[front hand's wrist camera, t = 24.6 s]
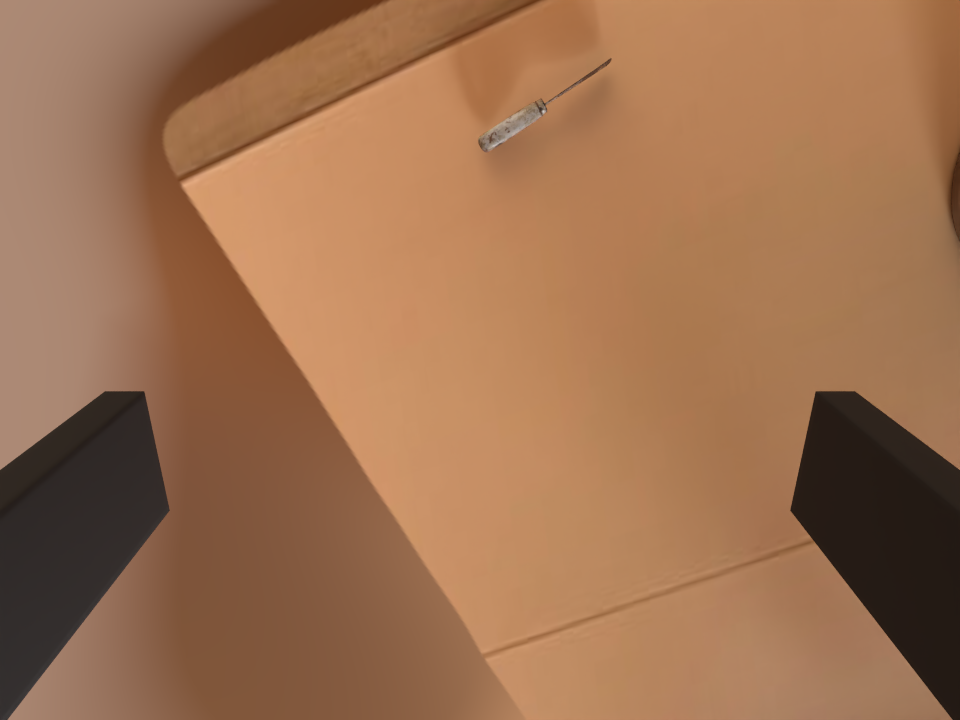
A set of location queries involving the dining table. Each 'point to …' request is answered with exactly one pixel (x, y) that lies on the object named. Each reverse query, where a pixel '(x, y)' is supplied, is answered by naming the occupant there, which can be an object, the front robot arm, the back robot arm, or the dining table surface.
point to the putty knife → (521, 119)
